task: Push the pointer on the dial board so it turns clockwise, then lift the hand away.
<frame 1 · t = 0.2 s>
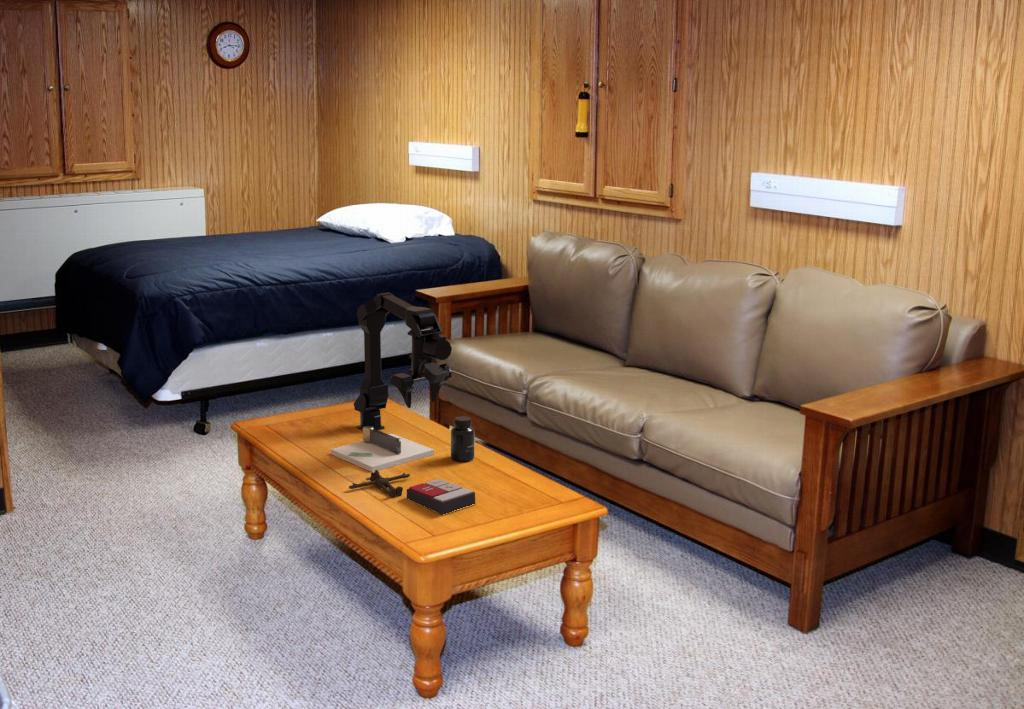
hand: (421, 404, 313), 14 cm above the table, tool pointing down, fingers open, 9 cm apart
black cross stand base: (384, 490, 286), on the table
red grey black box: (440, 503, 278), on the table
dial board: (382, 454, 312), on the table
supplement bottle: (462, 459, 310), on the table
pointer: (382, 439, 313), point 4 cm above the table, hinge at 0.0°
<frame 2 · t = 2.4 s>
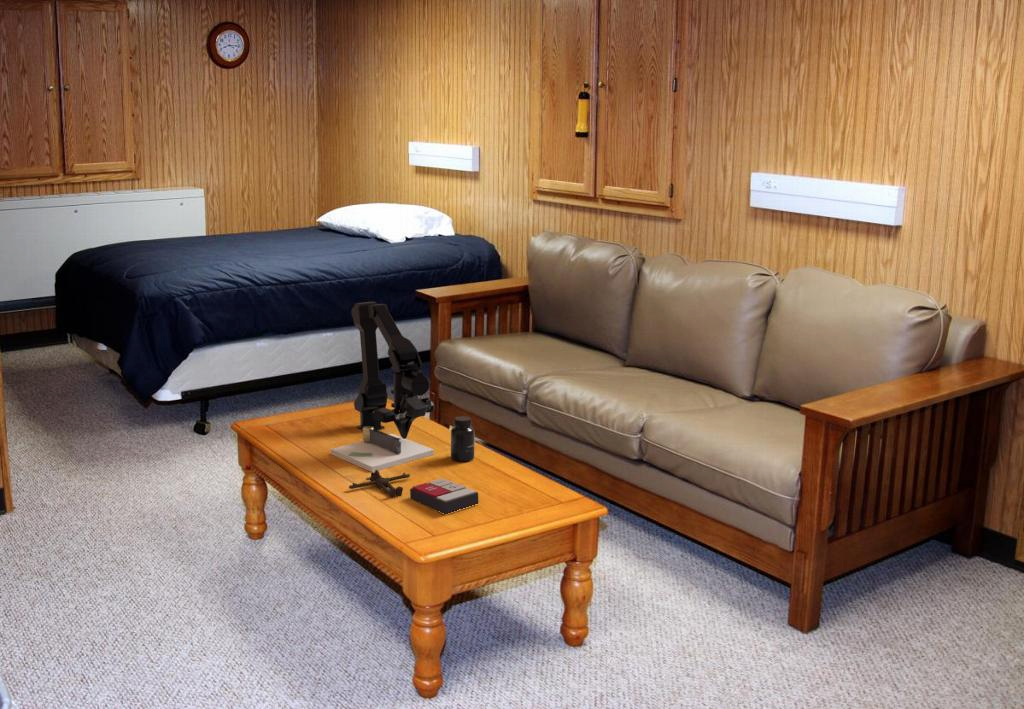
hand: (404, 438, 317), 3 cm above the table, tool pointing down, fingers closed
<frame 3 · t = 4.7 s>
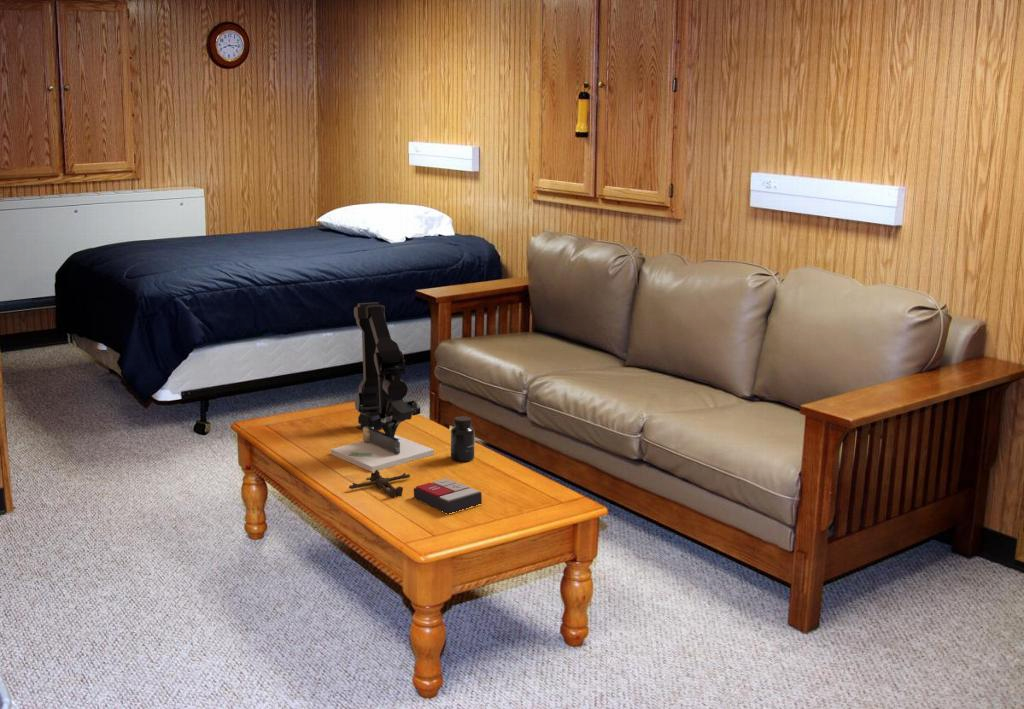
hand: (390, 442, 313), 3 cm above the table, tool pointing down, fingers closed
pointer: (381, 439, 313), point 4 cm above the table, hinge at -1.6°, touching gripper
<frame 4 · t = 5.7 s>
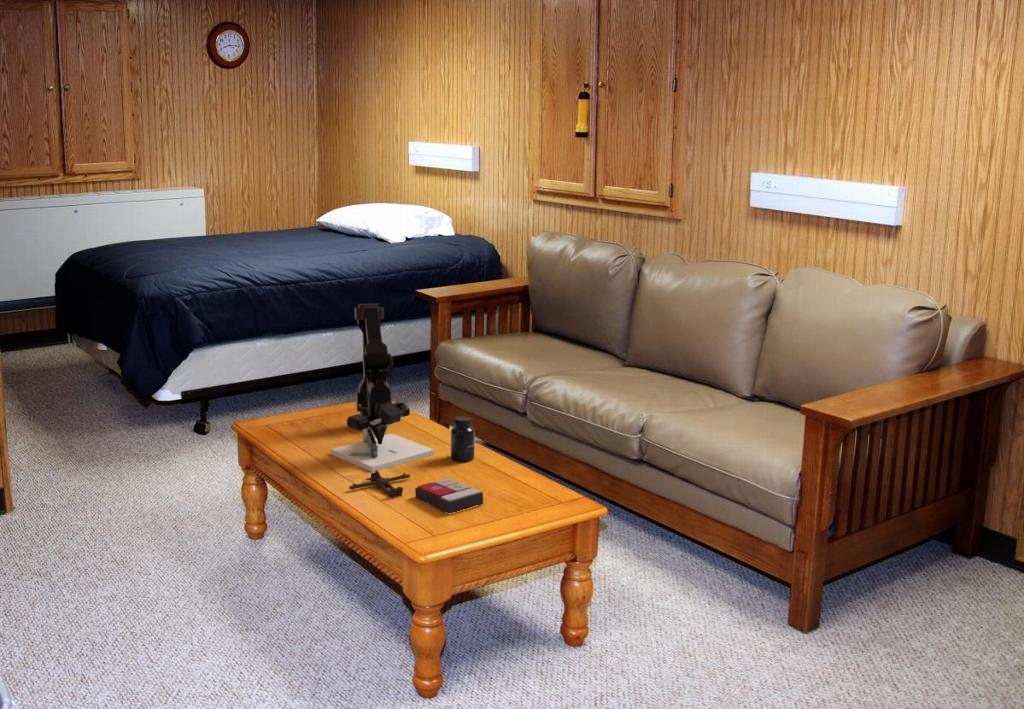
hand: (380, 443, 311), 3 cm above the table, tool pointing down, fingers closed
pointer: (371, 441, 311), point 4 cm above the table, hinge at -29.8°, touching gripper
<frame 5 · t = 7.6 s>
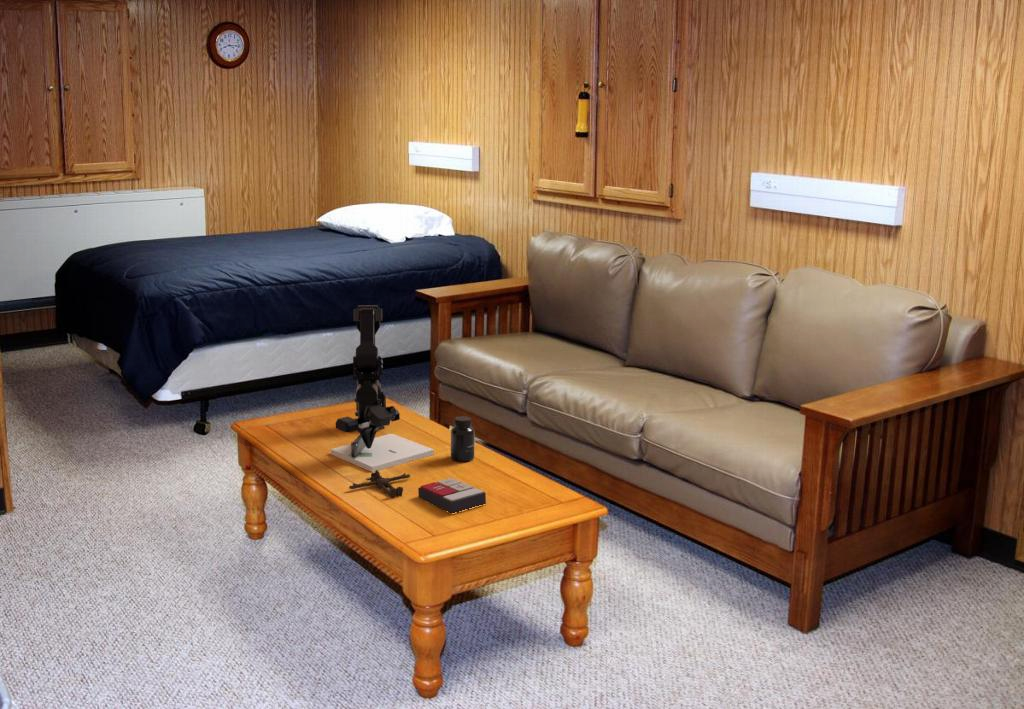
hand: (368, 448, 308), 3 cm above the table, tool pointing down, fingers closed
pointer: (361, 441, 311), point 4 cm above the table, hinge at -52.7°, touching gripper
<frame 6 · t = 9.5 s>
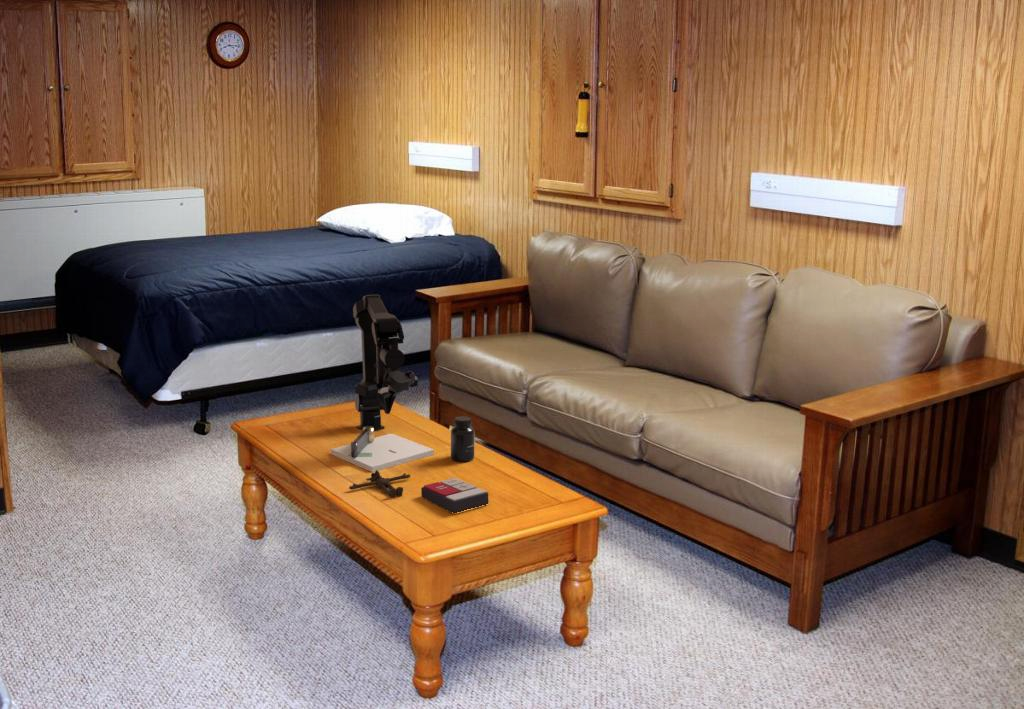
hand: (387, 413, 310), 12 cm above the table, tool pointing down, fingers closed
pointer: (361, 441, 311), point 4 cm above the table, hinge at -52.7°
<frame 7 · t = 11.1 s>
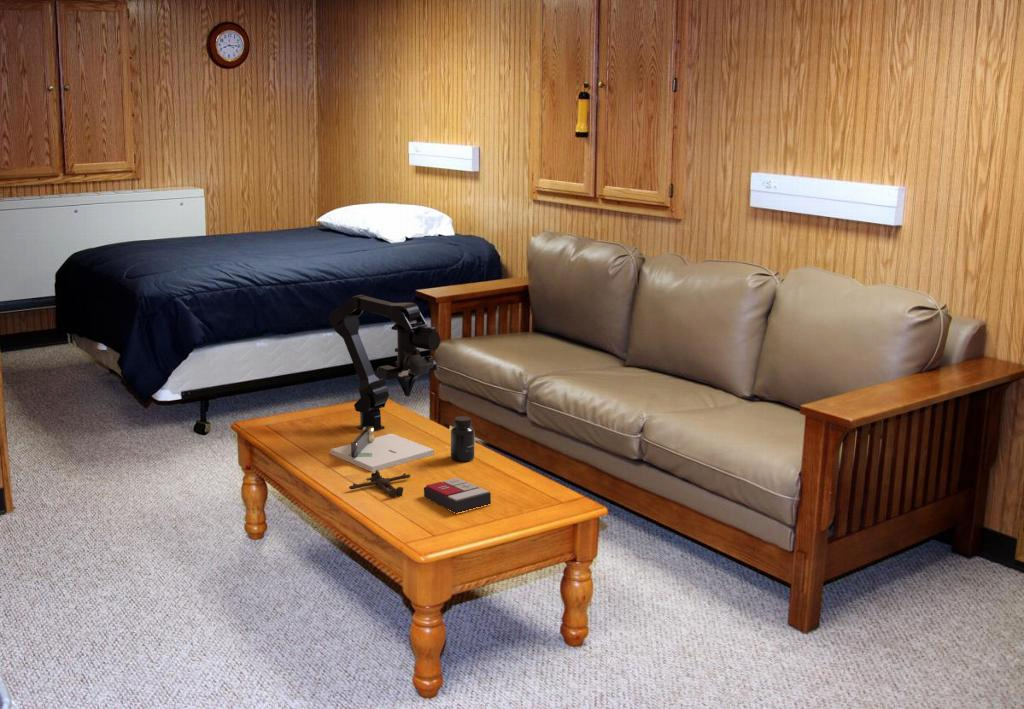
hand: (407, 396, 325), 13 cm above the table, tool pointing down, fingers closed
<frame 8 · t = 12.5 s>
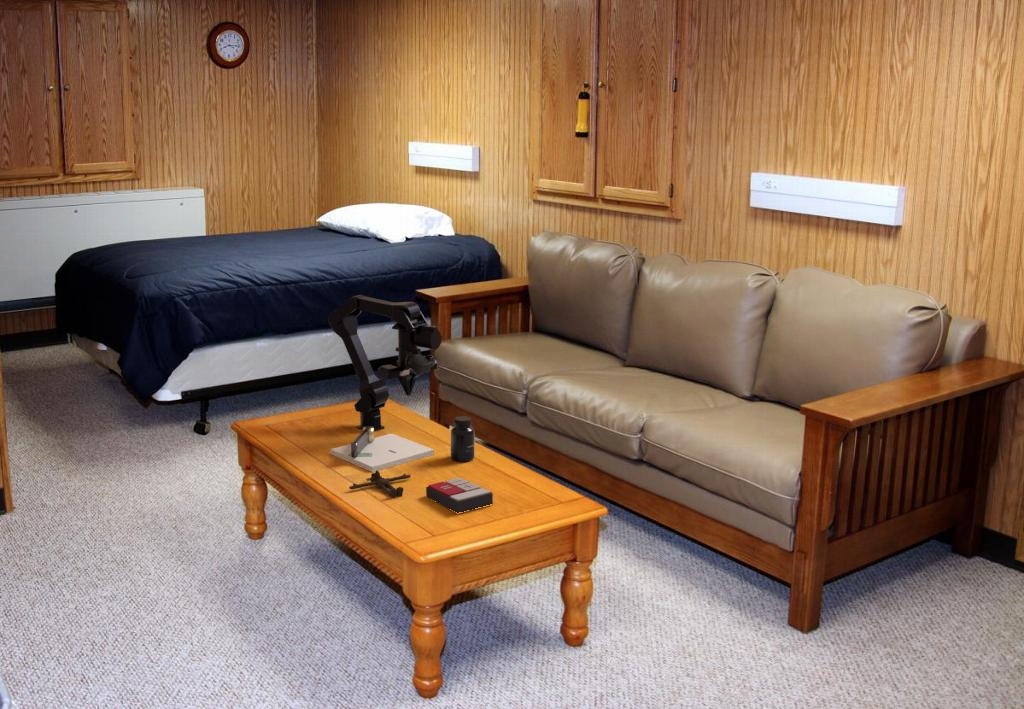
hand: (408, 395, 325), 13 cm above the table, tool pointing down, fingers closed
at the end: pointer at -53° (first picture: +0°) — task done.
